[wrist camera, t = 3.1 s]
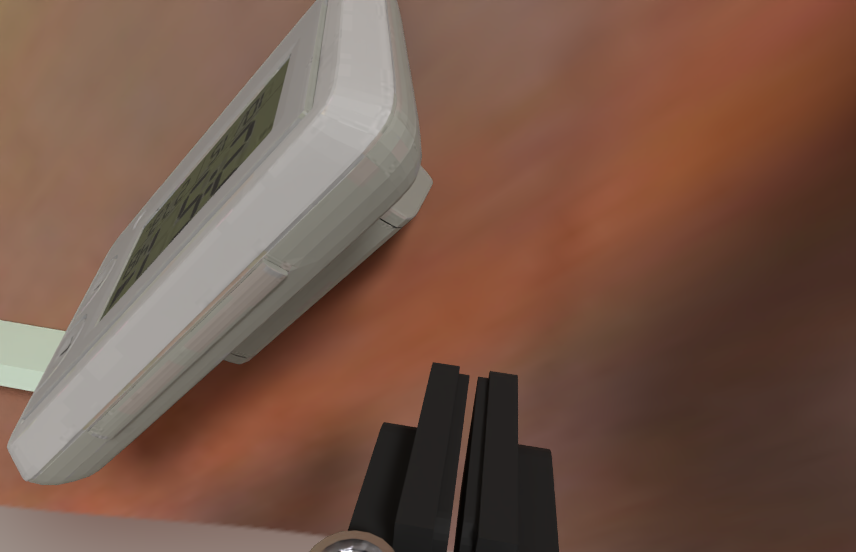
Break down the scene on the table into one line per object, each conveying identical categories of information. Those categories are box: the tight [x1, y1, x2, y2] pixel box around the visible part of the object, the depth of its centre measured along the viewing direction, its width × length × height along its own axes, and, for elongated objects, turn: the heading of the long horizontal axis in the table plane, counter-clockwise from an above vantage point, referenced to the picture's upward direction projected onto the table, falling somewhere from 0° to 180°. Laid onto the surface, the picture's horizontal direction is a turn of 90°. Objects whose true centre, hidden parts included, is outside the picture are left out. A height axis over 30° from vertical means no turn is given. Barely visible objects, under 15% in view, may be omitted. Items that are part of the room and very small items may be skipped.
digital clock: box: [7, 0, 433, 485], centre depth 18 cm, size 16×9×11 cm, turn 122°
